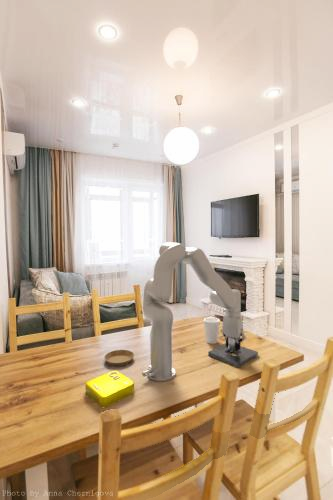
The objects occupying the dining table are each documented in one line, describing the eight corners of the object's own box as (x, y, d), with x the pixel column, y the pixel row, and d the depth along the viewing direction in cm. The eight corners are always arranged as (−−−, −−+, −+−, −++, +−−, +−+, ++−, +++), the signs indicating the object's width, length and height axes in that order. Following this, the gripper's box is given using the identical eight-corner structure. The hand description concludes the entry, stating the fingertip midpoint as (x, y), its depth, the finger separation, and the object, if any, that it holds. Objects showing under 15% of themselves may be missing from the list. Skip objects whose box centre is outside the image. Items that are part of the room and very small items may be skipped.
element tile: (83, 392, 106) (83, 381, 106) (115, 378, 116) (115, 368, 116) (102, 410, 95) (102, 397, 95) (136, 393, 106) (136, 381, 105)
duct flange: (238, 367, 124) (238, 363, 124) (208, 355, 137) (208, 351, 137) (257, 355, 136) (257, 351, 136) (228, 345, 149) (228, 342, 149)
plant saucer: (118, 352, 143) (118, 347, 143) (140, 358, 136) (139, 353, 135) (98, 363, 130) (97, 358, 130) (121, 371, 123) (120, 365, 123)
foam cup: (221, 344, 150) (221, 322, 150) (204, 344, 151) (204, 322, 150) (218, 338, 160) (218, 317, 159) (202, 338, 160) (202, 317, 159)
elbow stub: (234, 353, 133) (234, 337, 132) (225, 349, 137) (225, 334, 136) (240, 350, 136) (240, 334, 136) (231, 346, 140) (231, 332, 140)
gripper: (215, 311, 139) (215, 345, 140) (244, 319, 127) (243, 356, 128) (223, 309, 144) (223, 341, 145) (252, 315, 132) (251, 351, 133)
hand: (232, 348), depth 136 cm, fingers closed on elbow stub, 5 cm apart
